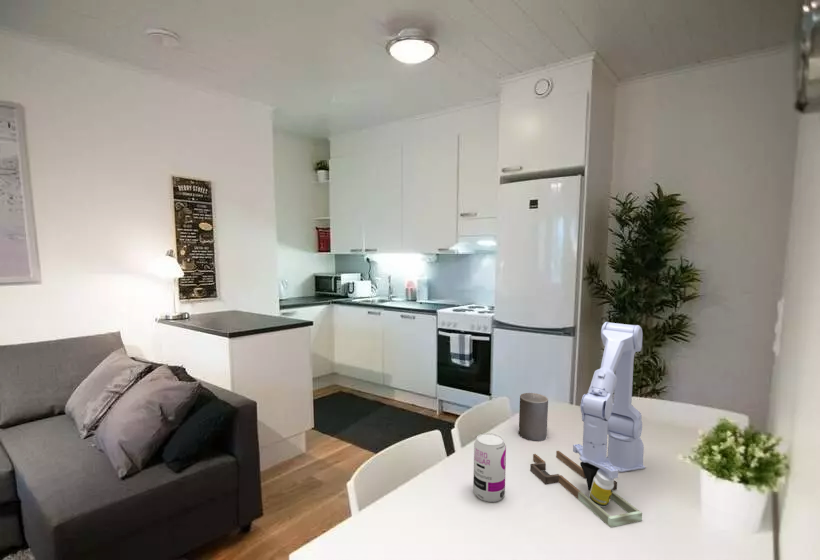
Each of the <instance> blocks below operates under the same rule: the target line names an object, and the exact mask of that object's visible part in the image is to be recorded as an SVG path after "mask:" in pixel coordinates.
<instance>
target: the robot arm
mask: <svg viewBox="0 0 820 560" xmlns="http://www.w3.org/2000/svg"><path fill="white" fill-rule="evenodd" d="M643 335H644V334H643V328H642V327H641V326H640V325H638V324H626V323H625V324H624V323H619V322H616V323H615V322H610V321H605V322H604V323H603V324H602V326H601V330H600V339H601V341H602V344H603V347H604V348H603V349H604V350H603V354H602V359H601V364H600V368H598V369H596V370H594V373H593V376H592V378H591V382H590V386H589V388H588V390H587V393H584V394H583V395H582V396H581V397H582V398H581V401H580V407H579V408H580V412H581V420H582V422H583V431H582V432H583V433H582V444H579V443H577V444H572V452H573V453H575V454H578V455H579V461H580V464H579V466H580V467H581V468H582V469H583V471H584V474H585V477H586V479H585V480H586V484H587V489H588V490H587V491H588V492H590V490H591V486H592V482H593V479H594V476H595V475H596V474H597V471H598V470H599V469H601V470H602V471H604V472H605V473H607V474H608V475H609V477H610V478H611V479H613V478H614V479H618V478H619V473H625V472H631V471H635V470H636V471H637V470H642V469H645V468H646V466H645V465H644V453H645V450H644V449H645V446H644V442H643V440H642V438H641V436H642V433H643V421H642V420H643V419H642V413H641V411H639V410H638V409H637V408H636V407H635V406H634V405H633V404H632V401H633V382H634V380H633V379H634V377H633V376H634V360H635V354H636V352H637V353H638V352H641V351H642V349H643V337H644V336H643Z"/></svg>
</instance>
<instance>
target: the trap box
mask: <svg viewBox="0 0 820 560" xmlns="http://www.w3.org/2000/svg"><path fill="white" fill-rule="evenodd" d="M555 454H556V455H555V456H556V458H557V459H558V460H559V461H561V462H562V463H563V464H565V465H566V466H567V467H568V468H570V469H571V470H572V471H573V472H575V473H576V474H577V475H579V476H580V477H581V478H583V479H585V480H586V477H585V474H584V471H583V469H582V467H581V465H580V464H578V463H576V461H575V462H574V461H573V459H570V458H569V457H568V456H567V455H566V454H564V453H563V452H561V451H560V450H556V452H555ZM532 461H533V462H534V463H531V464H530V467H529V468H530V470H529V471H530V472H531V473H532V474H533V475H534V474H535V475H534V476H535V477H536V478H538V480H540V481H541V482H542V483H543V485H552V484H560V485H561V486H562V487H563V488H564V489H566V491H568V492H569V493H570V494H571V495H572V496H574V497H575V499H577V500H579V501H580V503H582V504H583V505H584V506H585V507H586V508H588V509H589V510H590V511H591V512H592V513H593V514H594V515H595V516H596V517H598V518H599V519H600V520H601V521H602V522H604V523H605V524H606V525H607V526H608V527H610V528H613V527H618V526H623V525H629V524H633V523H637V522H642V521H643V512H642V511H640V510H639V509H638V508H637V507H635V506H633V505H632V504H631V503H630V502H628V501H627V500H626V499H624V498H623V497H622V496H620V495H619V494H618V493H617V492H615V491H616V490H618V482H617V481H616V480H615V479H614V482H613V483H614V488H613V491H612V494H611V498H610V501H612V502H614V503H615V504H616V505H617V506H619V507H620V508H622V510H624V511H625V512H626V513H621V514H616V515H610V514H609V513H608V512H606V511H605V510H604V509H603V508H602V507H599V506H598V505H597V504H595V503H594V502H593V501H592V500H591V499H590V498H589V496H587V495H586V494H585V493H583V492H582V491H581V490H580V489H579V488H577V487H576V485H574V484H573V483H571V482H570V481H569V480H568V479H567V478H566V477H564V476H563V475H560V474H559V473H556V474H550V473H549V472H548V471H547V470H546V469H547V468H546V465H547V464H546V461H545V460H544V459H542V458H541V457H540V456H539V455H538V454H536V453H533V454H532Z"/></svg>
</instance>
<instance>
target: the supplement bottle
mask: <svg viewBox="0 0 820 560" xmlns="http://www.w3.org/2000/svg"><path fill="white" fill-rule="evenodd" d="M614 480H615V478H613V479H611V478H610V477H609V475H608V474H607V473H605V472H604V471H602V470H601V469H599V470H598V471H597V474H596V475H595V476H594V479H593V482H592V486H591V490H590V491H589V494H588V498H589V499H591V500H592V501H593V502H594V503H595V504H597V505H598V506H599V507H600V508H607V507H608V506H609V504H610V501H611V499H610V498H611V494H612V491H614V490H613V488H614V483H613V482H614Z"/></svg>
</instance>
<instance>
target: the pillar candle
mask: <svg viewBox="0 0 820 560" xmlns="http://www.w3.org/2000/svg"><path fill="white" fill-rule="evenodd" d="M548 409H549V398H548V397H547V396H546V395H543V394H541V393H540V394H539V393H535V392H534V393H533V392H525V393H521V394H520V395H519V412H518V414H519V415H518V416H519V417H518V418H519V419H518V421H519V422H518V435H519V436H520V437H521V438H522V439H525V440H527V441H532V442H541V441H544V440H546V439H547V435H548V414H549V412H548Z"/></svg>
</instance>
